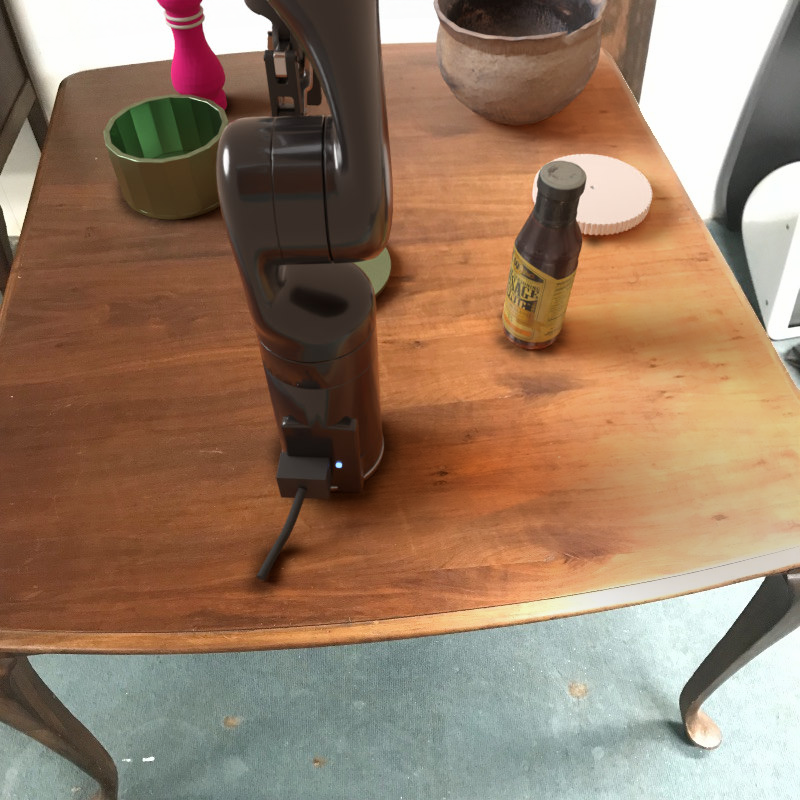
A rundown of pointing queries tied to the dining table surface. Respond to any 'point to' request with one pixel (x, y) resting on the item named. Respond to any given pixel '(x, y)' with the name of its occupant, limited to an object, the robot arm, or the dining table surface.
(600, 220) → the plastic lid
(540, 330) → the sauce bottle
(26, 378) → the dining table surface
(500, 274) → the dining table surface
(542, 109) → the ceramic bowl
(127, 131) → the pot
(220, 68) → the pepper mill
